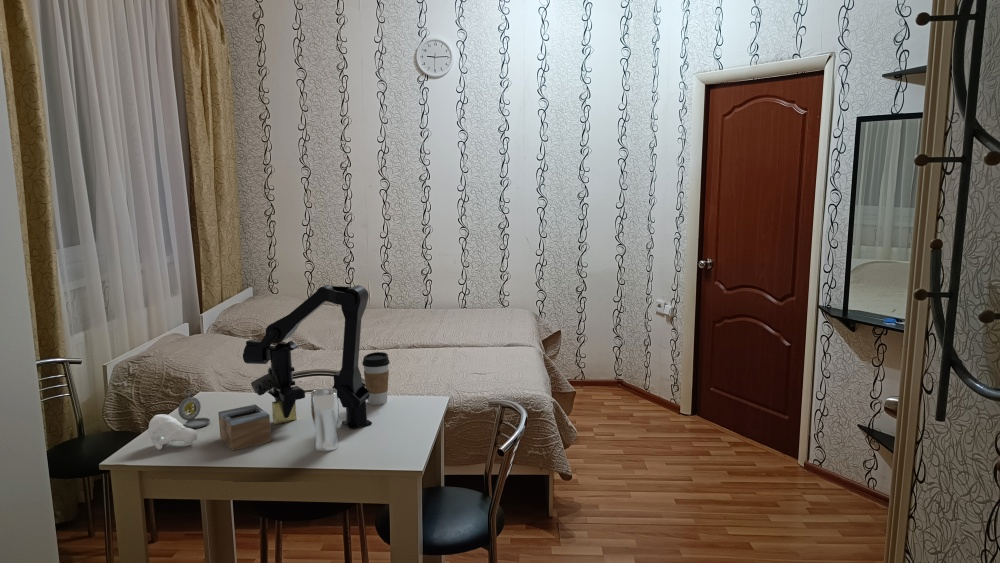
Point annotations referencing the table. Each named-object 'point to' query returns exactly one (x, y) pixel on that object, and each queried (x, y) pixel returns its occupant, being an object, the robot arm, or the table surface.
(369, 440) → the table surface
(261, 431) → the box
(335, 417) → the beer glass
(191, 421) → the pocket watch
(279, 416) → the block
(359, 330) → the robot arm
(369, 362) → the coffee cup
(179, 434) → the white animal skull
